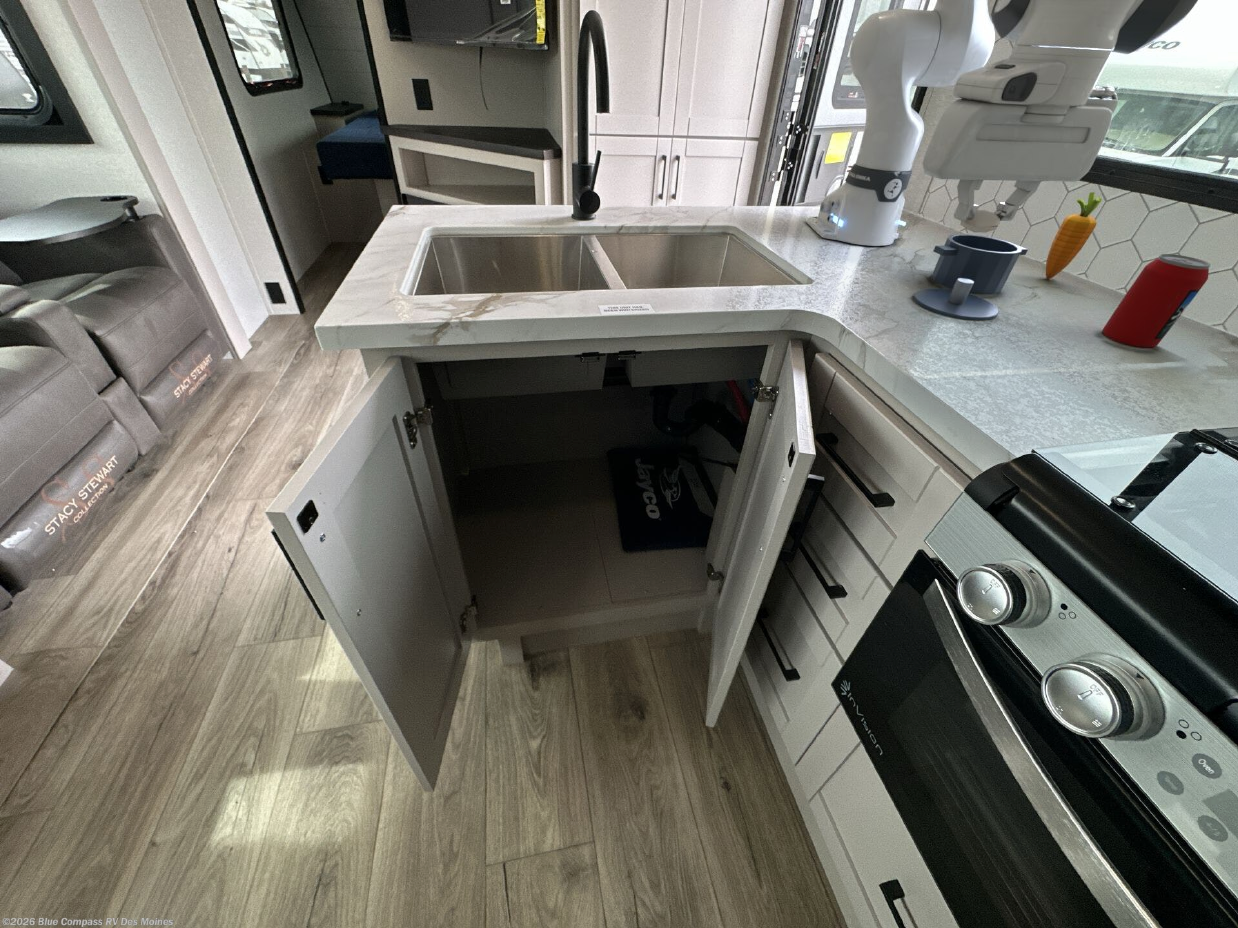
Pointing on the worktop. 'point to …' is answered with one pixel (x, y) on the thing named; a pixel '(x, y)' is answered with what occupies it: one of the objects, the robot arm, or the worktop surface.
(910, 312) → the worktop surface
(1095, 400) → the worktop surface
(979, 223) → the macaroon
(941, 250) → the pot
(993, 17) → the robot arm
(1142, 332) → the beverage can
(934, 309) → the lid
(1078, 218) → the carrot
